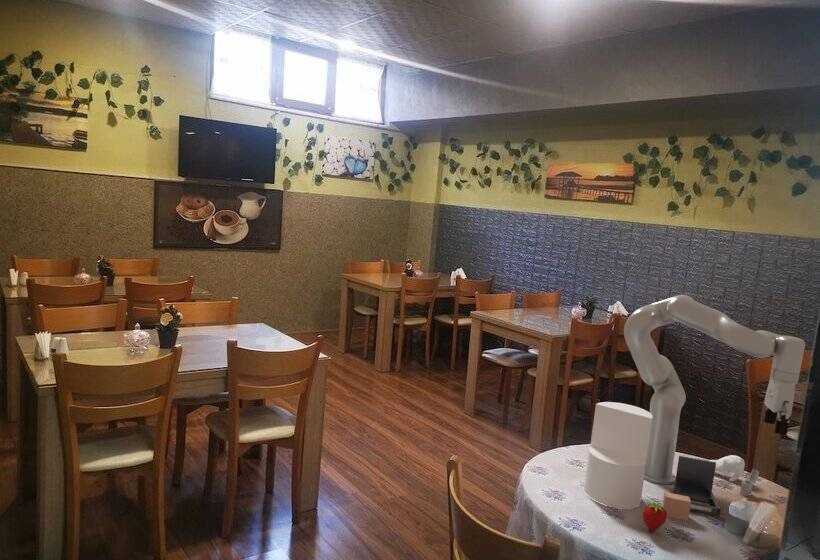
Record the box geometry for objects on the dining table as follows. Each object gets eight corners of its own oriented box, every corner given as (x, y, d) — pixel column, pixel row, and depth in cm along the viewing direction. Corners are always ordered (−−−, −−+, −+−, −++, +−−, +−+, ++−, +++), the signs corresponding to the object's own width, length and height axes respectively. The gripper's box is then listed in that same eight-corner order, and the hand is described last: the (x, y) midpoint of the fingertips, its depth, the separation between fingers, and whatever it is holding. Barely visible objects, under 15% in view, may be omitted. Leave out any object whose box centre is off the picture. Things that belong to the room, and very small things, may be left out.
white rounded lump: (742, 460, 210) (704, 452, 218) (740, 484, 210) (703, 475, 218) (746, 456, 214) (710, 447, 223) (745, 479, 215) (709, 470, 223)
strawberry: (669, 534, 172) (674, 501, 171) (652, 540, 168) (657, 506, 167) (651, 524, 177) (656, 492, 176) (634, 529, 173) (639, 496, 172)
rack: (680, 509, 188) (686, 472, 187) (673, 490, 202) (679, 455, 200) (719, 517, 185) (725, 479, 184) (709, 497, 199) (715, 462, 197)
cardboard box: (663, 515, 183) (665, 497, 183) (661, 510, 187) (664, 492, 186) (688, 520, 181) (691, 501, 181) (686, 515, 185) (688, 496, 184)
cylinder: (593, 478, 205) (604, 398, 202) (646, 496, 196) (658, 412, 192) (575, 495, 191) (586, 409, 188) (631, 515, 181) (644, 425, 178)
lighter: (744, 496, 201) (748, 473, 201) (739, 494, 203) (743, 471, 202) (756, 492, 205) (759, 470, 204) (751, 490, 207) (754, 468, 206)
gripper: (762, 367, 199) (752, 417, 201) (781, 381, 182) (771, 435, 184) (787, 370, 197) (777, 421, 199) (809, 385, 180) (798, 440, 182)
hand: (774, 428), depth 192 cm, fingers open, 9 cm apart
